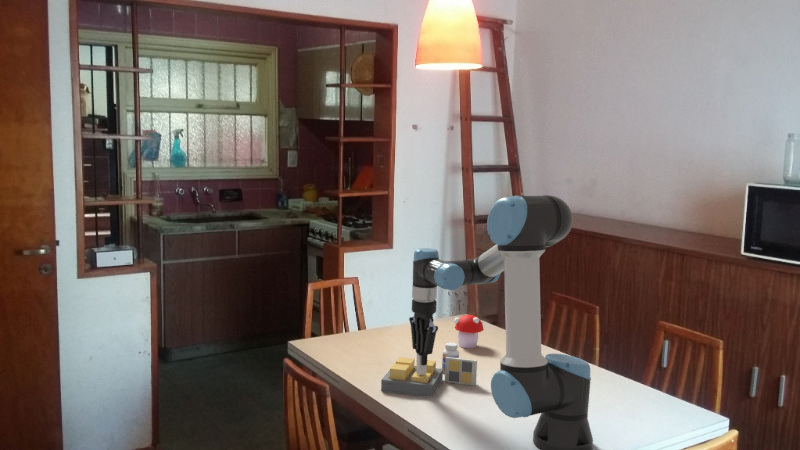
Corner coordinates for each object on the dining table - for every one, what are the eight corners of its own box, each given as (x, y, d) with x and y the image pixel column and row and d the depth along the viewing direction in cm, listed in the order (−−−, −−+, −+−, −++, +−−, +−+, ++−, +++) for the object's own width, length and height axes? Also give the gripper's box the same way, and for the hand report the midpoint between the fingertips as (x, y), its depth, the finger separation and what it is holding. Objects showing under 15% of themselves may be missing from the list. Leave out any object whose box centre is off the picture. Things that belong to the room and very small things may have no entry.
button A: (427, 391, 219) (427, 378, 218) (411, 389, 220) (411, 376, 219) (430, 385, 224) (431, 373, 223) (415, 383, 225) (415, 371, 224)
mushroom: (448, 343, 272) (449, 312, 271) (473, 340, 277) (474, 309, 275) (462, 351, 263) (463, 319, 261) (488, 348, 267) (489, 316, 266)
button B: (405, 382, 220) (405, 370, 220) (389, 381, 221) (389, 368, 221) (409, 377, 225) (409, 365, 224) (393, 375, 226) (393, 363, 226)
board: (432, 397, 216) (432, 385, 216) (381, 390, 220) (381, 379, 220) (442, 379, 232) (442, 369, 231) (394, 374, 236) (394, 363, 235)
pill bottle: (439, 373, 238) (440, 344, 237) (445, 368, 243) (447, 340, 242) (454, 376, 236) (455, 347, 234) (460, 371, 240) (461, 343, 239)
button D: (410, 375, 227) (410, 363, 226) (395, 373, 228) (395, 361, 228) (414, 370, 232) (414, 358, 231) (399, 368, 233) (399, 356, 232)
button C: (432, 378, 225) (432, 365, 225) (416, 376, 226) (417, 364, 226) (435, 373, 230) (435, 361, 229) (420, 371, 231) (420, 359, 231)
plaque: (475, 385, 227) (476, 361, 226) (444, 382, 230) (445, 357, 229) (476, 384, 229) (477, 360, 228) (445, 380, 231) (446, 356, 230)
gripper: (446, 303, 214) (443, 379, 218) (423, 293, 225) (420, 366, 229) (425, 305, 211) (422, 382, 214) (402, 295, 222) (400, 369, 225)
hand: (421, 374), depth 221 cm, fingers closed
